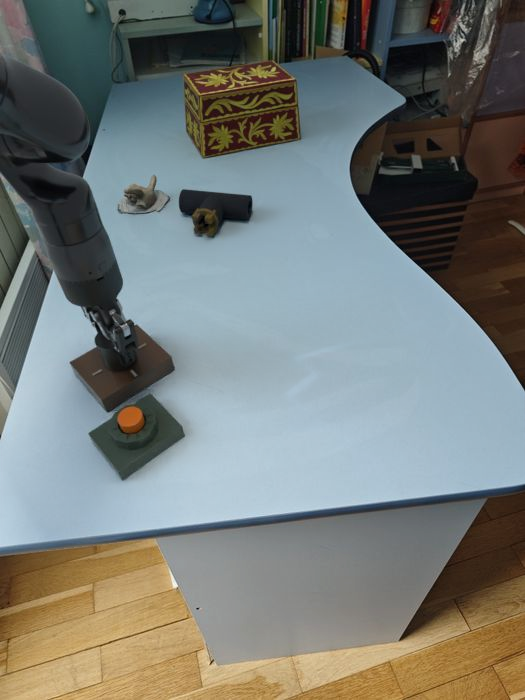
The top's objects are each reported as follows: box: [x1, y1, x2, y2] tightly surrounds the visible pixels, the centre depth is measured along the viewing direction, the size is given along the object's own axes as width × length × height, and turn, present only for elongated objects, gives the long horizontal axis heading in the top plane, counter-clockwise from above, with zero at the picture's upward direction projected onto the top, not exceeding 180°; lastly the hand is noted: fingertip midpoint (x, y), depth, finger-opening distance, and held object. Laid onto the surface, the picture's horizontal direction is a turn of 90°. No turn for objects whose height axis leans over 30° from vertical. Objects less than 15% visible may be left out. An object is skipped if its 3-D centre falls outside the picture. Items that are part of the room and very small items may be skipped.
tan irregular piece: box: [117, 174, 170, 214], centre depth 108 cm, size 10×12×6 cm
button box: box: [87, 392, 186, 481], centre depth 66 cm, size 10×8×4 cm
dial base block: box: [69, 324, 176, 413], centre depth 74 cm, size 12×10×3 cm
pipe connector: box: [178, 188, 254, 237], centre depth 102 cm, size 12×5×15 cm
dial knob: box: [94, 325, 137, 372], centre depth 72 cm, size 5×5×5 cm
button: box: [118, 407, 145, 434], centre depth 64 cm, size 3×3×2 cm
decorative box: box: [182, 60, 302, 159], centre depth 128 cm, size 28×19×15 cm
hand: (119, 352), depth 72 cm, fingers closed on dial knob, 5 cm apart
